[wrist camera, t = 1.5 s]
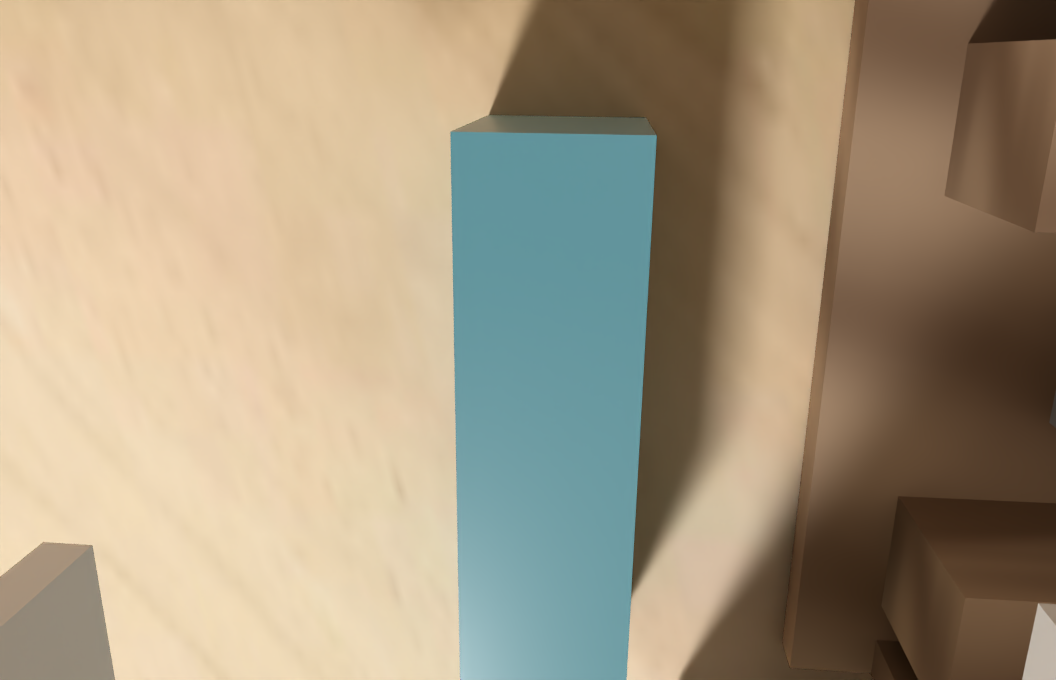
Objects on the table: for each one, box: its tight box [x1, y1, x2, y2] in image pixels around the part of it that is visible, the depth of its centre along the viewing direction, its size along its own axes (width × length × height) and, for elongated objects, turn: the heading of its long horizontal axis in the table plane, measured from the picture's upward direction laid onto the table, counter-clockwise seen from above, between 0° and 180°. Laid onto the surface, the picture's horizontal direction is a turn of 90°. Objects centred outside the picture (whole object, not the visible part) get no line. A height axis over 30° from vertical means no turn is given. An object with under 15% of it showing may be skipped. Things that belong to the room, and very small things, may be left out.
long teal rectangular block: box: [451, 115, 657, 680], centre depth 19 cm, size 13×4×5 cm, turn 0°
